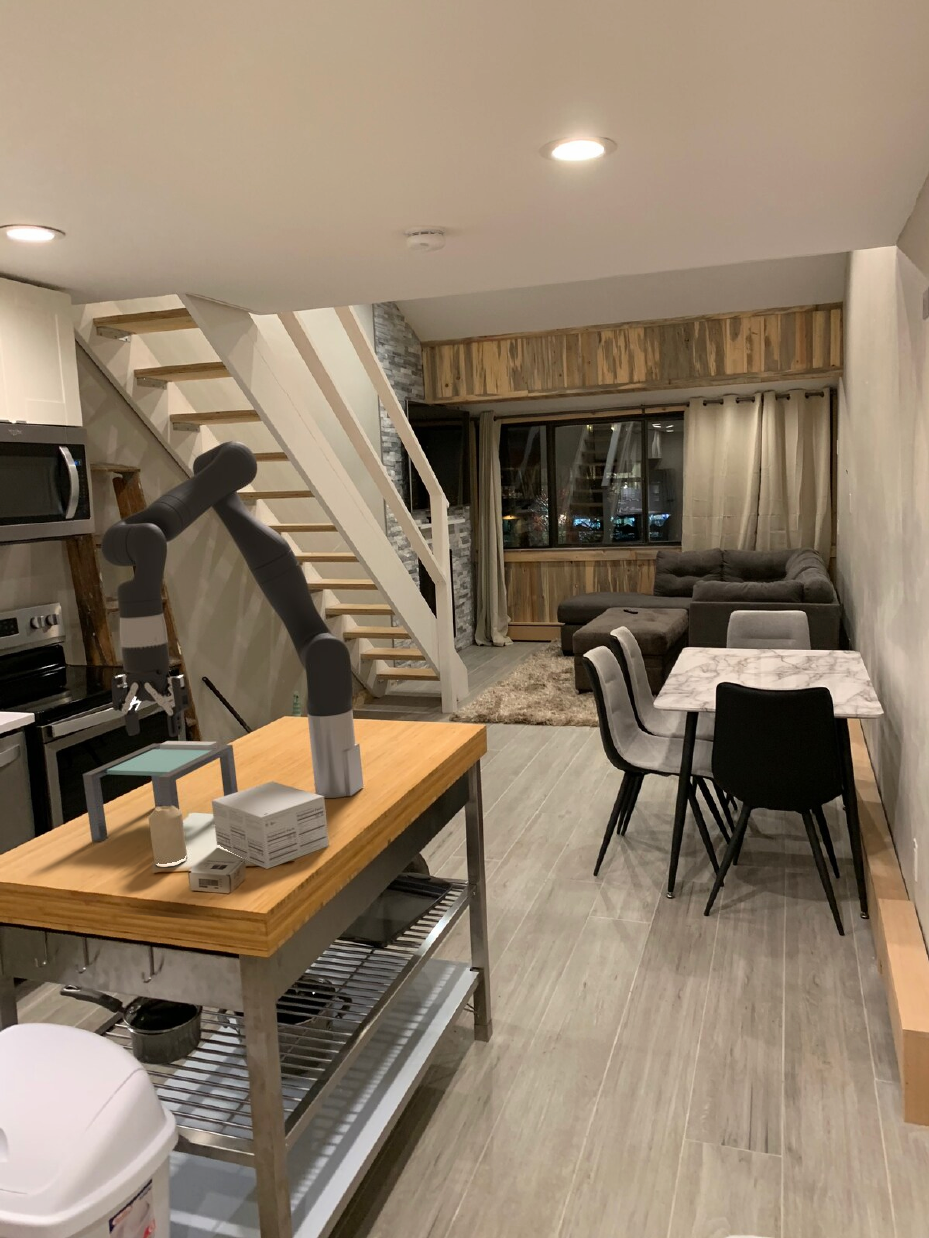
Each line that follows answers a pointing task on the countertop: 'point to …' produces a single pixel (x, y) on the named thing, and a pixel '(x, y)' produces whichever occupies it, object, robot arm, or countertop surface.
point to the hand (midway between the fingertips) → (154, 734)
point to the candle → (167, 835)
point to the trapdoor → (163, 758)
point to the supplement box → (270, 823)
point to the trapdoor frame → (155, 784)
